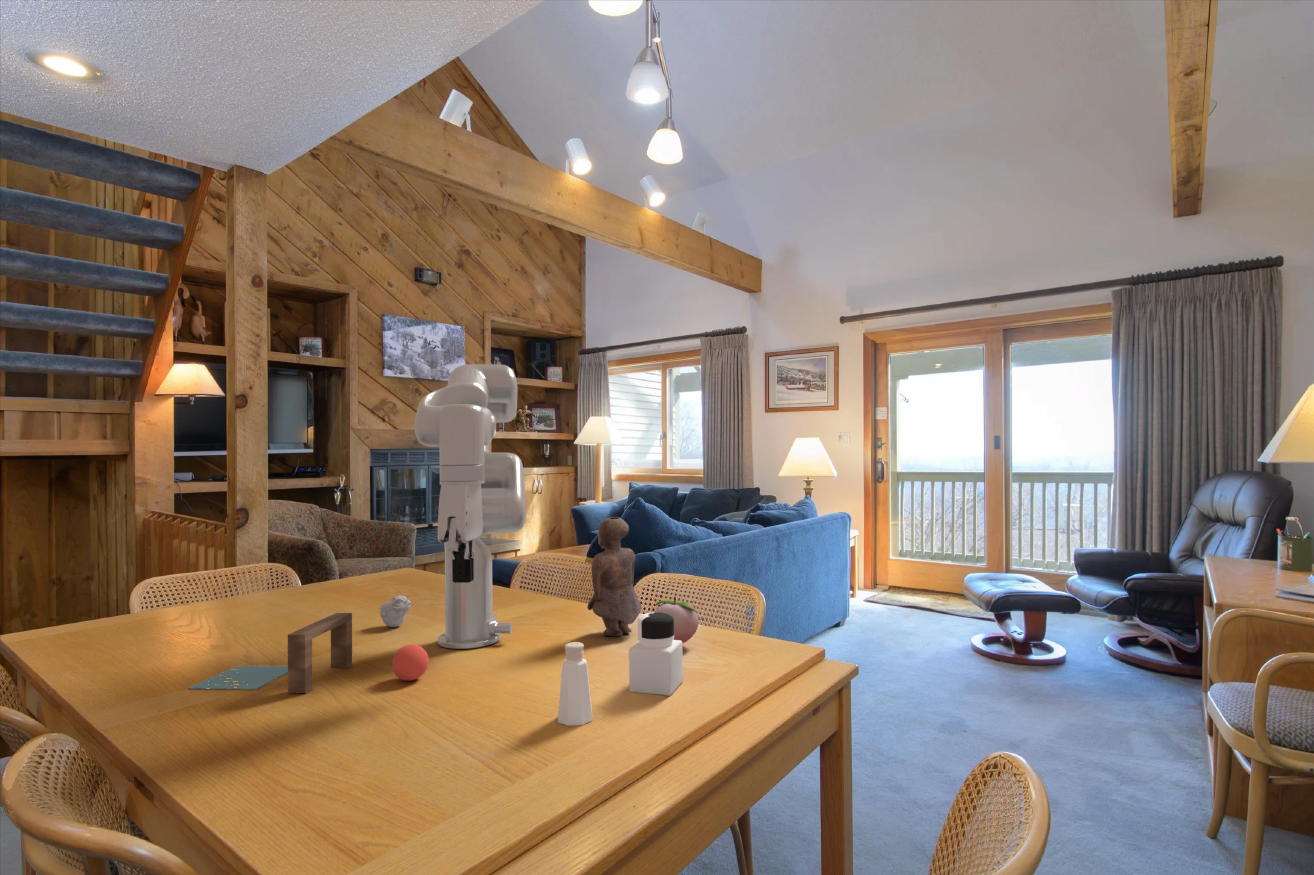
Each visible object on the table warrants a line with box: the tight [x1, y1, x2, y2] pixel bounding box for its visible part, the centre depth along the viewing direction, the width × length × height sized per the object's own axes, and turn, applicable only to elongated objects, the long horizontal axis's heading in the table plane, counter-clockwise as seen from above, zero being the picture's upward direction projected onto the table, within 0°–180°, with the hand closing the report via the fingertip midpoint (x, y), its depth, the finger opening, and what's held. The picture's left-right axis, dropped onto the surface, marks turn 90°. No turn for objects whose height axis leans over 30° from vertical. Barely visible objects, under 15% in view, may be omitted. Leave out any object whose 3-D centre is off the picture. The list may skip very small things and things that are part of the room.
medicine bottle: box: [628, 611, 684, 697], centre depth 115 cm, size 7×7×12 cm
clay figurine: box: [587, 516, 642, 637], centre depth 148 cm, size 13×10×25 cm
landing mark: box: [187, 665, 288, 691], centre depth 122 cm, size 12×12×1 cm
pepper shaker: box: [557, 641, 593, 727], centre depth 102 cm, size 5×5×11 cm
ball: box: [391, 643, 430, 682], centre depth 120 cm, size 6×6×6 cm
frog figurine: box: [379, 595, 412, 628], centre depth 156 cm, size 6×7×7 cm
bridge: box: [287, 612, 353, 694], centre depth 121 cm, size 3×15×10 cm, turn 176°
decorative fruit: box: [654, 596, 699, 645], centre depth 138 cm, size 9×8×10 cm
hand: (463, 581), depth 119 cm, fingers closed
